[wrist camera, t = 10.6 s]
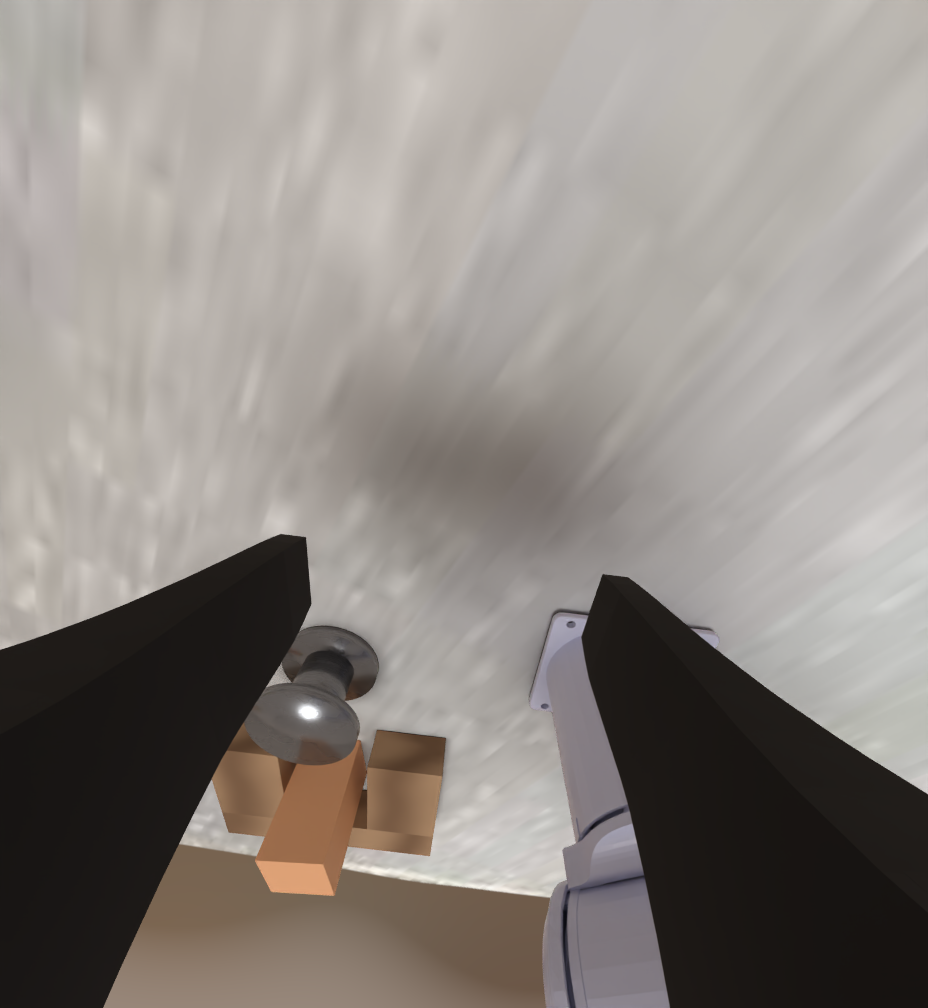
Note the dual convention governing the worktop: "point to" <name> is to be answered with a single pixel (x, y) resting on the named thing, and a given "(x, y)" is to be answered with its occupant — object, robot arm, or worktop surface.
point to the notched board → (382, 808)
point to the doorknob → (315, 698)
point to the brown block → (313, 827)
